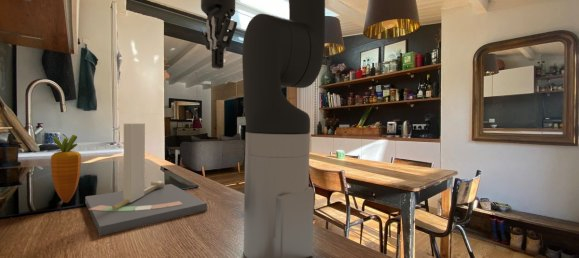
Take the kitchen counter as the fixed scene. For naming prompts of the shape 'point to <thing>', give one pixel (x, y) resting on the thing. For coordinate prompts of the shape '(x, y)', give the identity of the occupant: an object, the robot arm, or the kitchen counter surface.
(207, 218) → the kitchen counter surface
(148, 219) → the gauge dial plate
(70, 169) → the carrot
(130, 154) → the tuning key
